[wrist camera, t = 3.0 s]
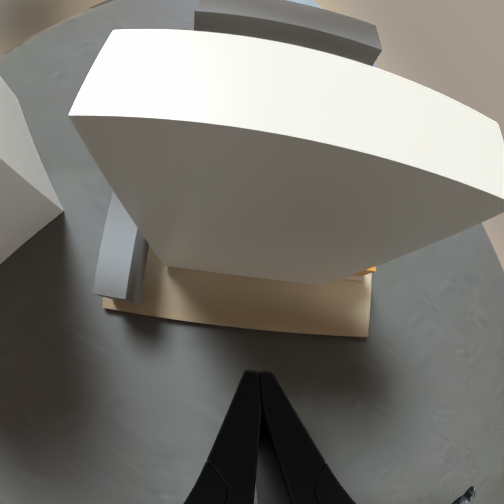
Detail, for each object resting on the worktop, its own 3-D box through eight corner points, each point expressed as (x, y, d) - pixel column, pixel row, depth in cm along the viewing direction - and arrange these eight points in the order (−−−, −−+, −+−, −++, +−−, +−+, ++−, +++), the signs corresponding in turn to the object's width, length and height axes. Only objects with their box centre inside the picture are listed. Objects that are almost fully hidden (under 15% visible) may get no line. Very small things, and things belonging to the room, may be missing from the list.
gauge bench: (364, 336, 17) (472, 337, 9) (104, 308, 15) (18, 289, 7) (363, 122, 20) (425, 41, 12) (157, 88, 19) (144, -16, 10)
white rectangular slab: (358, 289, 16) (558, 224, 5) (164, 265, 15) (68, 115, 4) (359, 252, 17) (541, 150, 5) (170, 226, 16) (112, 29, 4)
